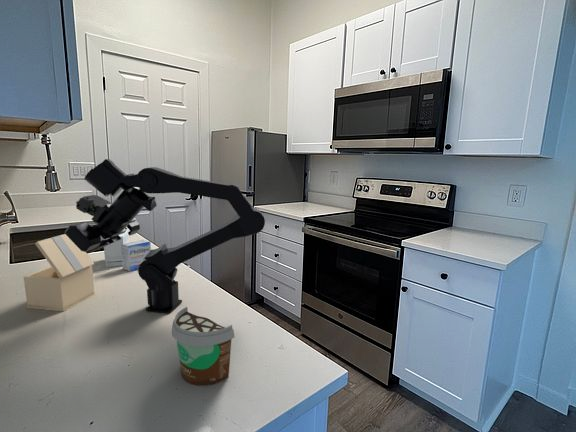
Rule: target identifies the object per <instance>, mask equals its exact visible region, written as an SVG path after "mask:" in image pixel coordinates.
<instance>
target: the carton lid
mask: <svg viewBox="0 0 576 432" xmlns="http://www.w3.org/2000/svg"><path fill="white" fill-rule="evenodd" d="M34 244H35V246H36V247H37V249H38V250H39V251H40V253H41V254H42V256H43V257H44V258H45V259H46V261H47V262H48V264H49V265H50V267H51V266H52V268H53V269H54V271H55V272H56V273H57V275H58V276H59V278H60V279H61V278H63V277H66V276H68V275H70V274H73V273H75V272H77V271H80V270H82V269H84V268H87V267H89V266H93V265H94V264H95V262H94V261H93V259H92V257H90V255H89V253H88V254H87V253H86V252H84V251H81V250H80V249H79V248H78V247H77V246H76V245H75V244H74V243H73V242H72V241H71V240H70V239H69V237H68V236H67V235H66V234H65V233H64V234H60V235H56V236H52V237H50V238H45V239H42V240H38V241H36V242H35V243H34Z"/></svg>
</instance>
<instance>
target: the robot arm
mask: <svg viewBox="0 0 576 432" xmlns="http://www.w3.org/2000/svg"><path fill="white" fill-rule="evenodd" d="M83 179H84V181H86V182H87V183H88V184H89V185H91V186H92V187H93V188H94V189H95V190H97V191H98V192H99V193H101V194H102V195H103V196H104V197H109V196H110V195H111V196H112V197H116V196H117V198H116V199H115V200H114V201H113V202H112V203H111V201H109V200H107V199H105V198H104V197H102V196H99V195H96V194H90V195H86V196H82V197H79V200H76V202H75V203H76V204H75V205H76V206H75V207H76V209H77V210H78V211H80V212H82V213H84V214H88V215H90V216H92V218H91V220H92V222H93V223H95V224H94V225H93V224H92V225H90V224H89V223H88V222H83V221H82V222H79V223H74V224H71V225H68V227H67V228H66V229H65V230H64V234H66V235H67V236H68V237H69V239H70V240H71V241H72V242H73V243H74V244H75V245H76V246H77V247H78V248H79V249H80V250H81V251H84V252H86V253H87V254H88V255H89V254H91V253H92V252H95V251H97V250H101V249H102V248H104V247H105V246H107V245H109V244H111V243H114V242H116V241H119V240H120V239H121V238H120V236H119V235H120V234H123V233H125V232H126V231H127V230H129V232H128V234H129V237H130V236H133V235H135V234H137V233H138V231H139V230H140V229H141V227H140V223H139V222H138V220H137V218H136V217H137V216H138V214H139V213H140V212H141V211H142V210H143V209H146V210H147V211H148V212H152V211H153V210H154V209H155V208H156V207H157V206H158V205H157V201H156V197H155V196H149V195H148V194H174V193H178V194H185V195H186V194H187V195H193V196H199V197H205V198H206V197H207V198H211V199H219V200H225V201H227V202H228V203H229V204H230V205H231V207H232V208H233V210H234V211H235V212H236V214H235V215H234V216H232V218H230V219H229V220H228V221H227V222H226V223H224V224H222V225H219V226H217V227H216V228H213V229H211V230H209V231H207V232H204V233H202V234H201V235H198V236H196V237H194V238H192V239H190V240H188V241H186V242H183V243H182V244H179V245H177V246H175V247H167V244H166V243H164V244H162V245H160V246H159V247H158V248H155V249H151V250H150V252H149V253H148V254H147V255H146V257H145V258H144V260H143V261H142V263H141V264H140V265H139V268H138V270H137V272H138V273H137V274H138V276H139V278H141V279H142V280H143V281H144V282H145V283H146V286H147V287H148V288H147V289H146V293H147V299H146V300H147V305H148V306H147V307H146V308H145V311H146V312H155V313H163V314H170V313H172V312H173V311H174V310H175V309H176V308H178V307H179V306H180V305H181V304H182V302H183V299H180V298H179V297H180V296H179V281H176V280H175V278H176V276H177V273H178V268H177V267H178V266H179V265H181V264H182V263H184V262H187V261H188V260H190V259H193V258H195V257H197V256H199V255H201V254H203V253H205V252H208V251H210V250H212V249H213V248H216V247H218V246H220V245H222V244H224V243H227V242H228V241H231V240H233V239H239V238H246V237H249V236H253V235H256V234H259V233H260V232H262V231H263V229H264V227H265V224H266V220H265V217H264V214H263V213H262V212H261V210H260V209H258V208H257V207H254V206H253V205H251V203H250V202H249V201H248V200H247V198H246V197H245V195H244V194H243V193H242V192H241V190H240V188H239V186H238V185H236V184H234V183H224V182H223V183H222V182H218V181H212V180H211V181H210V180H205V179H204V180H203V179H199V178H192V177H188V176H187V177H186V176H181V175H179V174H177V173H174V172H171V171H169V170H166V169H162V168H159V167H155V166H151V167H145V168H142V169H140V170H139V172H138V173H136V174H134V173H130V174H129V173H128V174H126V173H125V172H124V171H123V170H121V169H120V168H119V167H118V166H116V163H114V162H113V160H111V159H110V158H107V159H106V158H105V159H104V160H103V161H102V162H100V163H99V164H97V165H96V166H95V167H93V168H90V170H88V172H87V173H86V175H85V176H84V178H83ZM121 191H122V192H121ZM119 193H120V194H119ZM118 194H119V195H118Z"/></svg>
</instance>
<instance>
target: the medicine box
mask: <svg viewBox="0 0 576 432" xmlns="http://www.w3.org/2000/svg"><path fill="white" fill-rule="evenodd" d="M121 249H122V260H123V266H122V269H123V270H125V271H128V272H133V271H138V268H139V265H140V264H141V263H142V261H143V260H144V258H145V257H146V255H147V254H148V253H149V252H150V250H152V247H151V241H150V240H145V239H142V240H136V241H132V242H131V241H130V243H125V244H121Z"/></svg>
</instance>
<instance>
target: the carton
mask: <svg viewBox="0 0 576 432" xmlns="http://www.w3.org/2000/svg"><path fill="white" fill-rule="evenodd" d="M93 273H94V272H93V265H91V266H89V267H87V268H84V269H82V270H80V271H77V272H75V273H73V274H70V275H68V276H66V277H63V278H61V279H60V278H59V276H58V275H57V273H56V272H55V271H54V269H53V268H52V266H51V265H50V266H48V267H45V268H42V269H41V270H37V271H35V272H32V273H29V274H27V275H24V276H23V282H24V290H25V298H26V306H27V308H28V309H34V310H35V309H36V310H47V311H54V312H55V311H56V312H65V311H67V310H69V309H71V308H73V307H74V306H76V305H78V304H79V303H81V302H83V301H85V300H87V299H89V298H91V297H93V296H94V295H95V284H94V274H93Z"/></svg>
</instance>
